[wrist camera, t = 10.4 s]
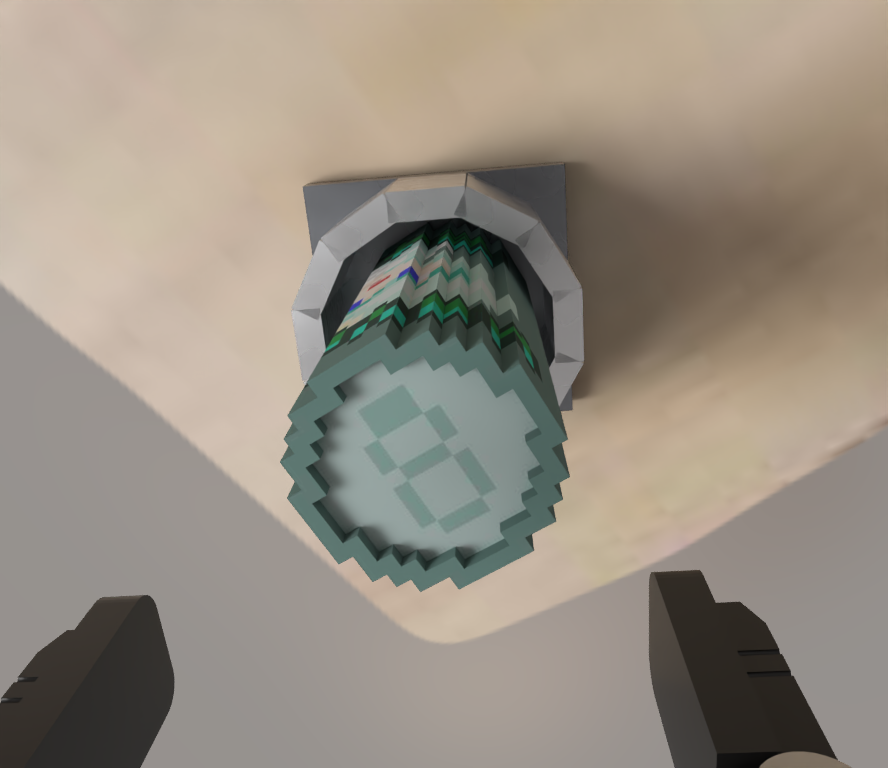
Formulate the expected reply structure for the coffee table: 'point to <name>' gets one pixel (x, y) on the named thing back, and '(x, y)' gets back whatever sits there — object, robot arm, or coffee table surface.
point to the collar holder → (434, 202)
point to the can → (431, 418)
